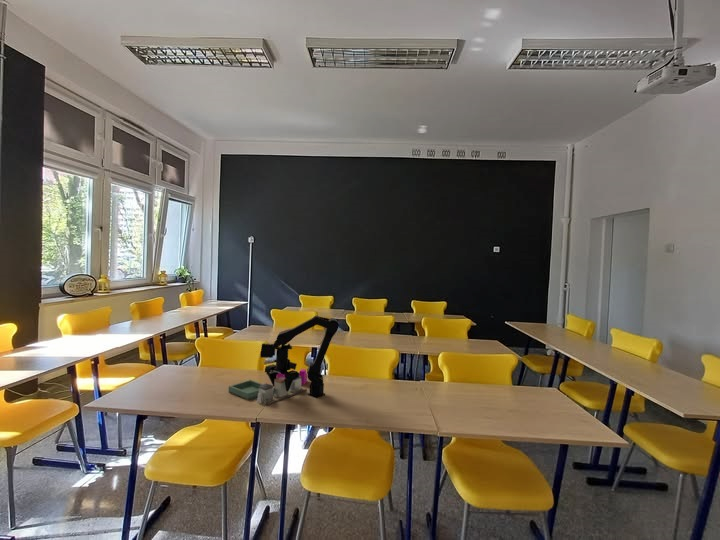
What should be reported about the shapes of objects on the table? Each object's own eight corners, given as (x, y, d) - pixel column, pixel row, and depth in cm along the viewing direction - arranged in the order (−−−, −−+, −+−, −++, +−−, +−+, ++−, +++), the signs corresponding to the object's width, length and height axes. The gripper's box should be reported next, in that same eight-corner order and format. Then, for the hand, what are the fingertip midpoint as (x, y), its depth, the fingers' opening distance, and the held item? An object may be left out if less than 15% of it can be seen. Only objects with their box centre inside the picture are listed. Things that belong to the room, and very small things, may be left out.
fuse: (287, 394, 178) (287, 378, 178) (280, 397, 175) (280, 381, 174) (280, 392, 181) (281, 376, 181) (273, 395, 177) (274, 379, 177)
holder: (306, 390, 186) (307, 376, 185) (266, 405, 164) (267, 390, 164) (292, 385, 192) (292, 372, 192) (251, 399, 170) (252, 385, 170)
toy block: (306, 381, 199) (307, 368, 199) (303, 385, 193) (304, 371, 193) (280, 379, 201) (281, 366, 201) (276, 383, 195) (277, 369, 195)
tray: (269, 392, 180) (269, 386, 180) (247, 400, 170) (248, 393, 170) (250, 385, 189) (250, 379, 189) (228, 392, 178) (228, 386, 178)
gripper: (307, 358, 179) (306, 389, 179) (281, 351, 189) (280, 380, 190) (291, 362, 170) (289, 395, 170) (264, 355, 180) (263, 386, 181)
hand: (280, 389), depth 178 cm, fingers open, 9 cm apart
